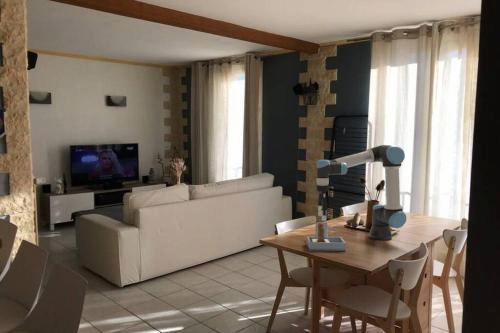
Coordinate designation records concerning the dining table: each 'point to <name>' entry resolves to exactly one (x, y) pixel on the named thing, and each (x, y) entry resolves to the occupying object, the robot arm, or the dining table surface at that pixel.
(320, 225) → the peg
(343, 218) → the dining table surface
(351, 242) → the dining table surface
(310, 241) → the crate
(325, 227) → the mug
